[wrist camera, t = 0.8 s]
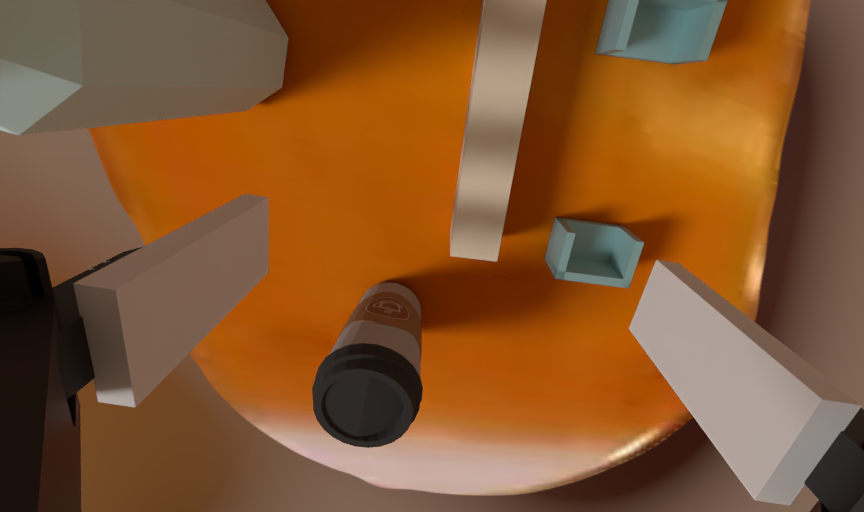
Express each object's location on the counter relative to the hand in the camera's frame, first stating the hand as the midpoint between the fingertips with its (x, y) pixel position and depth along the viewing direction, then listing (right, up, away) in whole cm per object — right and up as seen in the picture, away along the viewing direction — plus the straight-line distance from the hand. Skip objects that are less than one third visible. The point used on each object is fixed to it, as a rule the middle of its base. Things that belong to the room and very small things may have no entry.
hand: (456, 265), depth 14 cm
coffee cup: (-5, -5, +30) cm, 30 cm away
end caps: (+15, +10, +22) cm, 29 cm away
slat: (+4, +12, +22) cm, 25 cm away
